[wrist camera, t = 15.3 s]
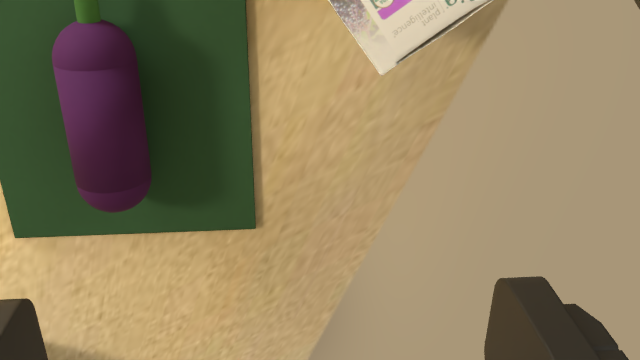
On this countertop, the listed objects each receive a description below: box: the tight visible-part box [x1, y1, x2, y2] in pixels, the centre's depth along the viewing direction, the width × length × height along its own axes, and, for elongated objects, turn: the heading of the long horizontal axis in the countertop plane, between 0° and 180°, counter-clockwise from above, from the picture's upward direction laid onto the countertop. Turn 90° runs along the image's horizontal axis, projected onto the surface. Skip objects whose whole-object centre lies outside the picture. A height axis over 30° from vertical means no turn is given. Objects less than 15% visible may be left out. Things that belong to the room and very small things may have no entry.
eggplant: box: [52, 0, 151, 213], centre depth 35 cm, size 4×13×4 cm, turn 179°
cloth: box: [0, 0, 256, 238], centre depth 37 cm, size 16×18×1 cm
